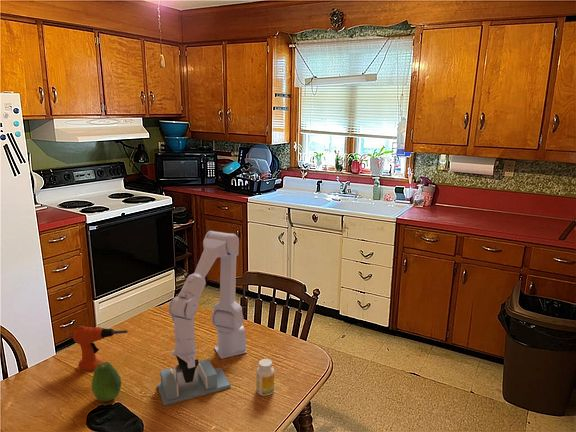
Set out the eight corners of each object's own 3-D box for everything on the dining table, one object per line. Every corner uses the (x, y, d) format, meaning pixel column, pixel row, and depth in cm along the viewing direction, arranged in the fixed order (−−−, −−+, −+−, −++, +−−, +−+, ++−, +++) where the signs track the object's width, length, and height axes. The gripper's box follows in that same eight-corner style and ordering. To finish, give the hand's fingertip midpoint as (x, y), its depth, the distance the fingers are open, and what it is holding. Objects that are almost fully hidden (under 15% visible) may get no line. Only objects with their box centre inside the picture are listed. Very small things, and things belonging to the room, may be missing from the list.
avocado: (87, 403, 125) (83, 366, 122) (108, 388, 132) (104, 352, 129) (108, 411, 122) (104, 373, 119) (128, 394, 129) (125, 358, 126)
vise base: (220, 370, 142) (220, 355, 140) (230, 387, 133) (230, 371, 132) (157, 386, 133) (156, 370, 132) (163, 406, 124) (162, 389, 123)
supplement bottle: (253, 392, 131) (252, 364, 128) (262, 383, 135) (262, 355, 133) (268, 398, 128) (268, 369, 126) (277, 388, 133) (277, 360, 130)
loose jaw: (209, 371, 139) (208, 358, 138) (217, 386, 132) (216, 373, 130) (198, 373, 138) (197, 361, 137) (206, 389, 130) (205, 376, 129)
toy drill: (131, 369, 139) (122, 326, 136) (76, 372, 141) (65, 330, 138) (138, 360, 144) (128, 319, 141) (84, 364, 146) (74, 323, 143)
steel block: (194, 379, 135) (193, 361, 133) (198, 387, 131) (197, 367, 130) (175, 385, 132) (173, 366, 131) (178, 392, 129) (176, 373, 127)
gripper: (166, 327, 133) (168, 367, 136) (176, 351, 120) (178, 394, 123) (189, 323, 136) (191, 362, 139) (201, 345, 123) (203, 387, 126)
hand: (186, 376), depth 131 cm, fingers open, 5 cm apart
